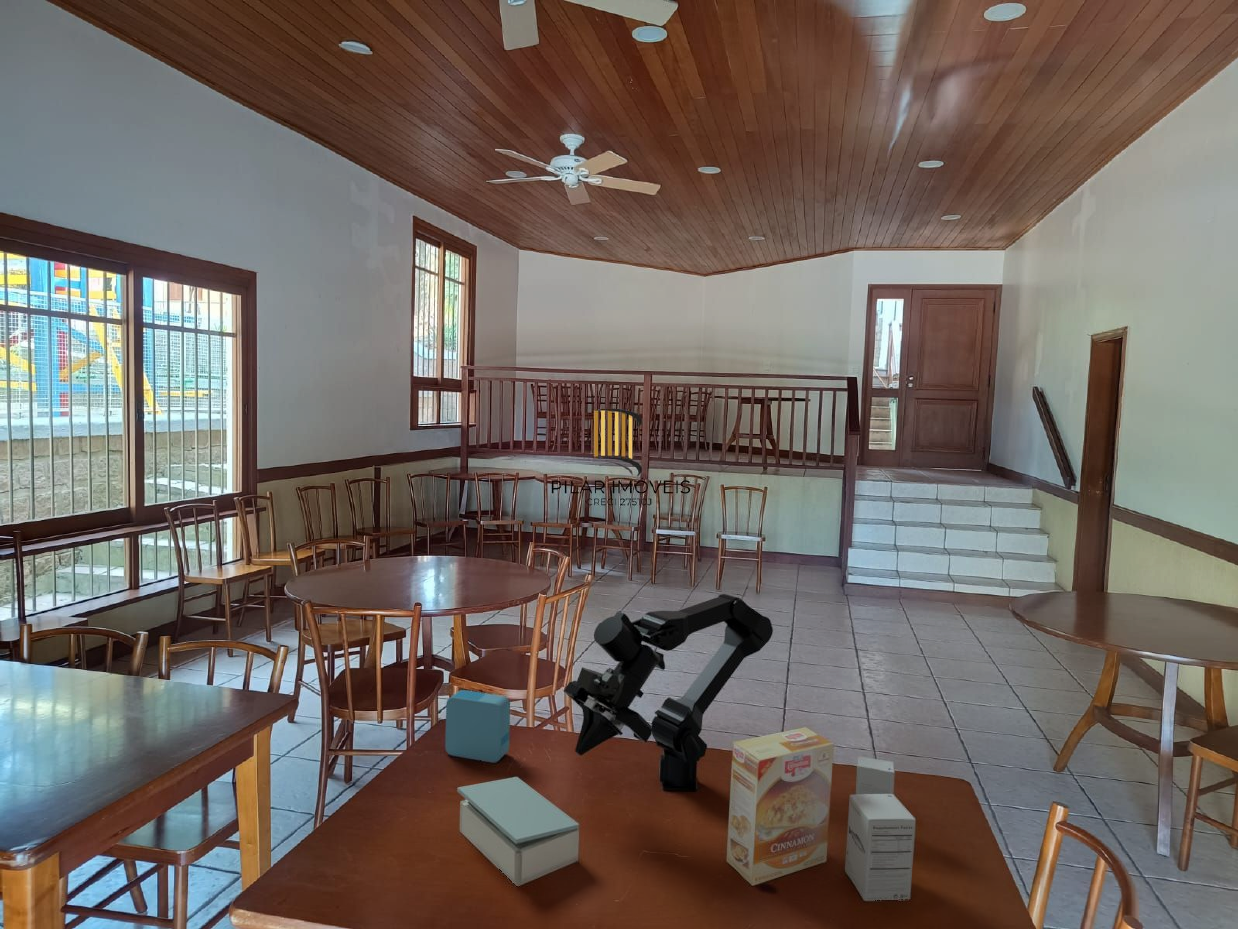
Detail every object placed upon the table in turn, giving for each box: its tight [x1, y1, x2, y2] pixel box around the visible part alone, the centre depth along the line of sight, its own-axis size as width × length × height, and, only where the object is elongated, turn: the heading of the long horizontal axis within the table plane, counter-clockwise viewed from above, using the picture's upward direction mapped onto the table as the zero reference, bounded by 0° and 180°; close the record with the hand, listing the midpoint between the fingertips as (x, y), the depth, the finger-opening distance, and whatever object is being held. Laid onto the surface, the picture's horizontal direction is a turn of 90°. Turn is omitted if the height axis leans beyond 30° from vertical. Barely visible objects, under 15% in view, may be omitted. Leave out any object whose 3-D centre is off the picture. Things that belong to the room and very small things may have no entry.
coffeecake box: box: [726, 726, 835, 886], centre depth 118 cm, size 15×7×20 cm, turn 117°
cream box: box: [459, 799, 580, 887], centre depth 121 cm, size 11×18×5 cm, turn 39°
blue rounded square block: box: [445, 689, 511, 764], centre depth 151 cm, size 12×4×12 cm, turn 74°
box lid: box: [456, 776, 580, 844], centre depth 120 cm, size 11×18×1 cm, turn 39°
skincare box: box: [855, 755, 896, 795], centre depth 128 cm, size 6×4×12 cm
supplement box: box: [844, 793, 917, 902], centre depth 113 cm, size 7×7×13 cm
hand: (577, 753), depth 127 cm, fingers closed
